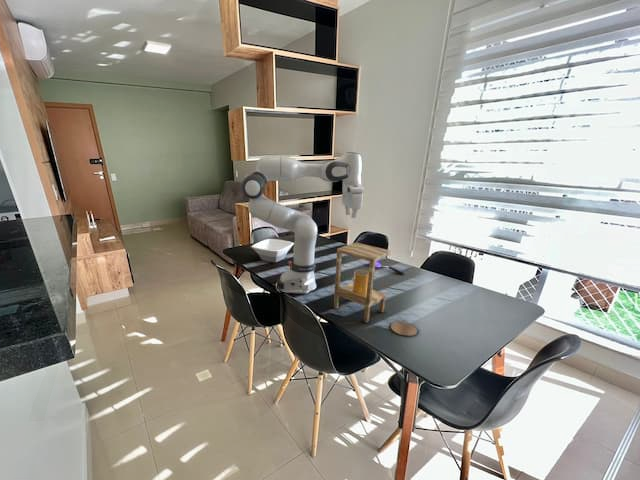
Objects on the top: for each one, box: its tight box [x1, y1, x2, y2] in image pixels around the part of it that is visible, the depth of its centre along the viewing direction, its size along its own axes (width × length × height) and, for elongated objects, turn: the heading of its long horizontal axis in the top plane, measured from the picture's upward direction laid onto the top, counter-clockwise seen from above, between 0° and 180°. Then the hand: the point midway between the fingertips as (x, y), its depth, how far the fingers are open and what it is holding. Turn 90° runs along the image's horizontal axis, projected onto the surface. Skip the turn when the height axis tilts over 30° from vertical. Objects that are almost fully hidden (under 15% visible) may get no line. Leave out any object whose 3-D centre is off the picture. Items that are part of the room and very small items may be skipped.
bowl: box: [250, 238, 294, 263], centre depth 201 cm, size 24×25×10 cm
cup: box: [352, 269, 369, 296], centre depth 129 cm, size 7×7×10 cm
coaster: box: [390, 321, 418, 337], centre depth 119 cm, size 10×10×1 cm
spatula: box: [368, 260, 405, 275], centre depth 180 cm, size 24×7×2 cm, turn 37°
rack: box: [333, 242, 393, 324], centre depth 129 cm, size 14×18×30 cm
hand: (350, 216), depth 145 cm, fingers open, 8 cm apart
